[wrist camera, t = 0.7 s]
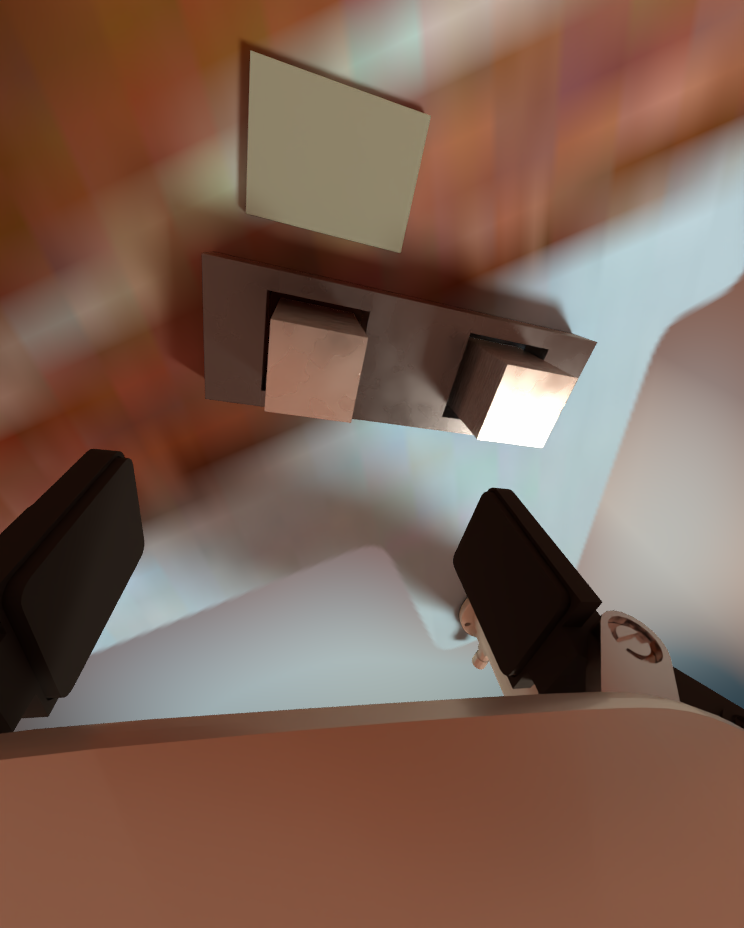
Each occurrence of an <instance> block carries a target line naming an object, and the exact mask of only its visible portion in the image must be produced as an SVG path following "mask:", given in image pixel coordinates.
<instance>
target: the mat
mask: <svg viewBox="0 0 744 928" xmlns="http://www.w3.org/2000/svg"><path fill="white" fill-rule="evenodd" d="M430 118H431V116H430V115H427V114H424V113H422V112H419V111H416V110H413V109H411V108H408V107H405V106H402V105H400V104H397V103H394V102H391V101H389V100H386V99H383V98H380V97H378V96H375V95H372V94H369V93H367V92H364V91H361V90H358V89H356V88H353V87H350V86H347V85H345V84H342V83H339V82H336V81H333V80H331V79H328V78H325V77H322V76H320V75H317V74H314V73H311V72H309V71H306V70H303V69H300V68H298V67H295V66H292V65H289V64H287V63H284V62H281V61H278V60H276V59H273V58H270V57H267V56H265V55H262V54H259V53H256V52H254V51H251V50H250V81H249V116H248V151H247V186H246V214H250V215H254V216H258V217H261V218H265V219H269V220H273V221H277V222H281V223H285V224H289V225H292V226H296V227H300V228H304V229H308V230H312V231H316V232H320V233H324V234H327V235H331V236H335V237H339V238H343V239H347V240H351V241H355V242H359V243H362V244H366V245H370V246H374V247H378V248H382V249H386V250H390V251H394V252H397V253H401V249H402V244H403V240H404V235H405V231H406V226H407V222H408V217H409V213H410V208H411V204H412V199H413V195H414V190H415V186H416V181H417V177H418V172H419V168H420V163H421V158H422V154H423V149H424V145H425V140H426V136H427V131H428V127H429V122H430Z"/></svg>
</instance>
